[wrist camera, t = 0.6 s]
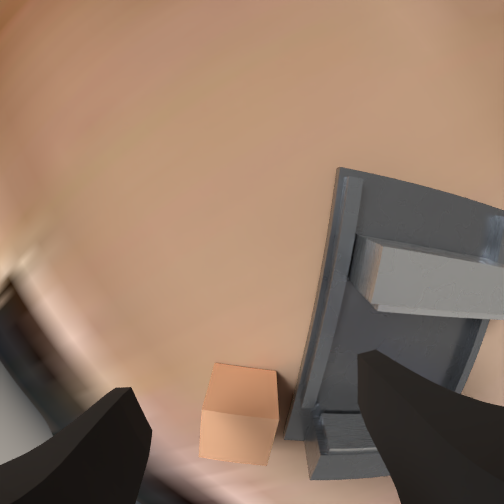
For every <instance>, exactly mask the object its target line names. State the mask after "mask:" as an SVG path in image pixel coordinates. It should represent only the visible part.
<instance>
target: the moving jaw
mask: <svg viewBox="0 0 504 504" xmlns="http://www.w3.org/2000/svg"><path fill="white" fill-rule="evenodd" d="M349 281H350V282H351V283H352V284H353V285H354V286H355V287H356V289H357V290H358V291H359V292H360V293H361V294H362V296H363V297H364V298H365V299H366V300H367V301H368V302H369V303H370V304H371V305H372V306H373V307H374V308H375V309H376V310H377V311H381V312H392V313H404V314H416V315H429V316H443V317H458V318H476V319H496V320H504V264H501V263H498V262H495V261H492V260H490V259H487V258H482V257H477V256H472V255H467V254H462V253H457V252H452V251H447V250H441V249H436V248H431V247H425V246H420V245H414V244H409V243H403V242H397V241H392V240H386V239H380V238H374V237H368V236H362V235H357V238H356V243H355V249H354V254H353V260H352V265H351V270H350V275H349Z"/></svg>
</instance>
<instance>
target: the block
mask: <svg viewBox="0 0 504 504" xmlns="http://www.w3.org/2000/svg"><path fill="white" fill-rule="evenodd" d="M278 422H279V408H278V392H277V377H276V371H272V370H263V369H255V368H247V367H240V366H233V365H226V364H219V363H215V364H214V368H213V371H212V375H211V378H210V382H209V386H208V389H207V393H206V396H205V400H204V403H203V407H202V414H201V429H200V445H199V457H202V458H208V459H214V460H221V461H228V462H235V463H244V464H253V465H264V466H267V463H268V459H269V456H270V452H271V449H272V445H273V441H274V437H275V434H276V430H277V426H278Z"/></svg>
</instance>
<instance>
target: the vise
mask: <svg viewBox="0 0 504 504" xmlns="http://www.w3.org/2000/svg"><path fill="white" fill-rule="evenodd" d="M357 235H362V236H368V237H374V238H380V239H386V240H392V241H397V242H403V243H409V244H414V245H420V246H425V247H431V248H436V249H441V250H447V251H452V252H457V253H462V254H467V255H472V256H477V257H482V258H487V259H490V260H492V261H495V262H498V263H501V264H504V210H501V209H498V208H495V207H492V206H489V205H486V204H483V203H480V202H477V201H474V200H470V199H467V198H464V197H460V196H457V195H454V194H450V193H447V192H443V191H440V190H436V189H433V188H429V187H425V186H421V185H417V184H414V183H410V182H406V181H402V180H397V179H393V178H389V177H385V176H380V175H376V174H371V173H367V172H362V171H357V170H352V169H347V168H342V167H339V168H337V170H336V178H335V185H334V192H333V199H332V206H331V213H330V219H329V226H328V232H327V238H326V244H325V250H324V256H323V261H322V267H321V272H320V278H319V283H318V288H317V293H316V298H315V303H314V308H313V313H312V318H311V323H310V327H309V332H308V336H307V341H306V345H305V350H304V354H303V358H302V363H301V367H300V371H299V375H298V379H297V383H296V387H295V391H294V395H293V399H292V403H291V406H290V410H289V414H288V418H287V421H286V425H285V429H284V432H283V435H284V440H299V441H304V443H305V450H306V457H307V464H308V471H309V478H310V480H342V479H359V478H371V477H380V476H389V475H390V474H389V472H388V470H387V468H386V466H385V464H384V462H383V460H382V458H381V456H380V454H379V452H378V450H377V448H376V446H375V444H374V442H373V440H372V438H371V436H370V434H369V432H368V430H367V428H366V426H365V423H364V420H363V417H362V414H361V411H360V408H359V405H358V403H357V400H358V366H357V354H360V353H364V352H368V351H372V350H375V349H376V350H378V351H379V352H381V353H383V354H384V355H386V356H388V357H389V358H391V359H393V360H394V361H396V362H398V363H399V364H401V365H403V366H404V367H406V368H408V369H410V370H411V371H413V372H415V373H417V374H419V375H420V376H422V377H424V378H426V379H428V380H430V381H432V382H434V383H436V384H438V385H440V386H443V387H445V388H447V389H449V390H451V391H454V392H456V393H459V394H461V392H462V390H463V388H464V385H465V383H466V381H467V379H468V376H469V374H470V372H471V369H472V367H473V364H474V362H475V359H476V357H477V354H478V352H479V349H480V346H481V344H482V341H483V338H484V335H485V332H486V329H487V326H488V323H489V320H490V319H476V318H458V317H443V316H429V315H416V314H404V313H392V312H381V311H377V310H376V309H375V308H374V307H373V306H372V305H371V304H370V303H369V302H368V301H367V300H366V299H365V298H364V297H363V296H362V294H361V293H360V292H359V291H358V290H357V289H356V287H355V286H354V285H353V284H352V283H351V282H350V281H349V275H350V270H351V265H352V260H353V254H354V249H355V243H356V238H357Z"/></svg>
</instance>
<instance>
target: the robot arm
mask: <svg viewBox="0 0 504 504" xmlns="http://www.w3.org/2000/svg"><path fill="white" fill-rule="evenodd" d="M357 366H358V400H357V403H358V405H359V408H360V411H361V414H362V417H363V420H364V423H365V426H366V428H367V430H368V432H369V434H370V436H371V438H372V440H373V442H374V444H375V446H376V448H377V450H378V452H379V454H380V456H381V458H382V460H383V462H384V464H385V466H386V468H387V470H388V472H389V474H390V476H391V478H392V480H393V482H394V484H395V487H396V489H397V492H398V495H399V498H400V501H401V504H504V407H503V406H498V405H494V404H490V403H486V402H482V401H479V400H476V399H473V398H470V397H467V396H464V395H461V394H459V393H456V392H454V391H451V390H449V389H447V388H445V387H443V386H440V385H438V384H436V383H434V382H432V381H430V380H428V379H426V378H424V377H422V376H420V375H419V374H417V373H415V372H413V371H411V370H410V369H408V368H406V367H404V366H403V365H401V364H399V363H398V362H396V361H394V360H393V359H391V358H389V357H388V356H386V355H384V354H383V353H381V352H379V351H378V350H376V349H375V350H372V351H368V352H364V353H360V354H357ZM151 437H152V429H151V427H150V425H149V423H148V421H147V419H146V417H145V415H144V413H143V411H142V409H141V407H140V405H139V403H138V401H137V399H136V397H135V394H134V392H133V390H132V388H131V387H125V388H115V389H113V390H112V391H110V392H109V393H107V394H106V395H105V396H104V397H102V398H101V399H100V400H99V401H97V402H96V403H95V404H94V405H93V406H91V407H90V408H89V409H88V410H87V411H85V412H84V413H83V414H82V415H80V416H79V417H78V418H77V419H76V420H74V421H73V422H72V423H70V424H69V425H68V426H66V427H65V428H64V429H62V430H61V431H60V432H58V433H57V434H56V435H54V436H53V437H52V438H50V439H49V440H47V441H46V442H44V443H43V444H41V445H39V446H38V447H36V448H34V449H33V450H31V451H29V452H28V453H26V454H24V455H22V456H20V457H17V458H15V459H13V460H11V461H8V462H6V463H4V464H2V465H0V504H135V503H136V499H137V496H138V492H139V489H140V485H141V482H142V478H143V475H144V471H145V468H146V464H147V461H148V457H149V452H150V446H151Z"/></svg>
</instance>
